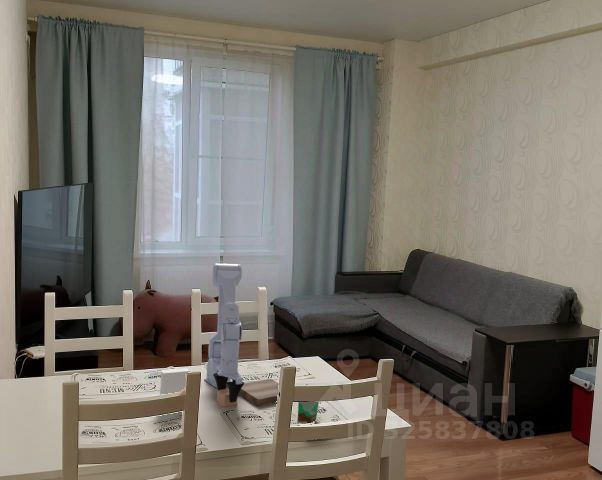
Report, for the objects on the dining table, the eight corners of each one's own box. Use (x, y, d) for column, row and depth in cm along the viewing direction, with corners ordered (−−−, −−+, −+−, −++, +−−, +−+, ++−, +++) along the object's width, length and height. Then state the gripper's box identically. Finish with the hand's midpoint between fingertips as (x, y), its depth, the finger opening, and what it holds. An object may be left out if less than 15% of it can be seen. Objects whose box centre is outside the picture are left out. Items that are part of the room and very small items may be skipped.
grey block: (163, 413, 192) (165, 376, 191) (156, 402, 200) (158, 367, 199) (191, 409, 196) (193, 373, 195) (183, 399, 204) (185, 365, 203)
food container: (315, 430, 188) (318, 399, 187) (296, 427, 189) (298, 396, 188) (322, 415, 200) (324, 386, 199) (303, 412, 201) (306, 383, 200)
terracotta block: (216, 401, 205) (217, 390, 205) (229, 399, 208) (230, 388, 208) (224, 407, 201) (224, 395, 201) (237, 404, 204) (237, 392, 204)
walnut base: (234, 391, 215) (235, 384, 215) (270, 385, 224) (270, 378, 224) (257, 406, 203) (258, 399, 203) (294, 399, 212) (294, 392, 212)
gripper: (208, 353, 206) (206, 392, 208) (230, 366, 195) (227, 407, 196) (226, 351, 210) (224, 389, 212) (248, 364, 199) (246, 403, 200)
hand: (227, 397), depth 204 cm, fingers open, 7 cm apart
